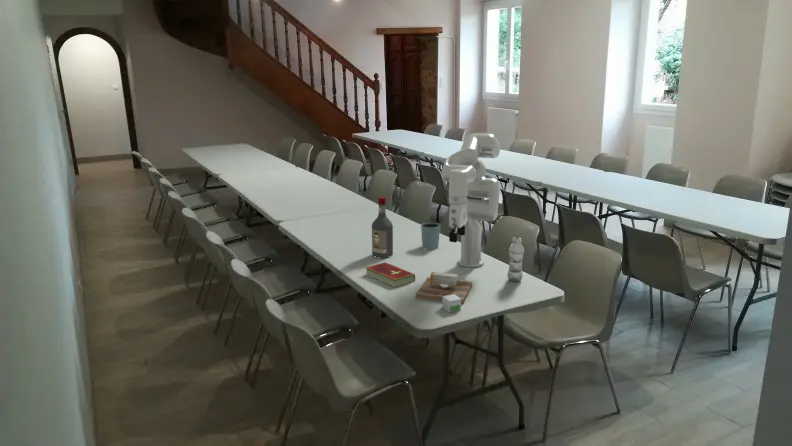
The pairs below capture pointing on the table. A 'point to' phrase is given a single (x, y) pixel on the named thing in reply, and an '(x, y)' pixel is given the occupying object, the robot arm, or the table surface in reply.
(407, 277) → the hardcover book
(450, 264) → the table surface
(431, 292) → the wooden cutting board
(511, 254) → the plastic bottle
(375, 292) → the table surface
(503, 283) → the table surface
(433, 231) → the teal cup
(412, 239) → the table surface
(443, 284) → the white and orange box
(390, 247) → the liquor
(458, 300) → the small box
